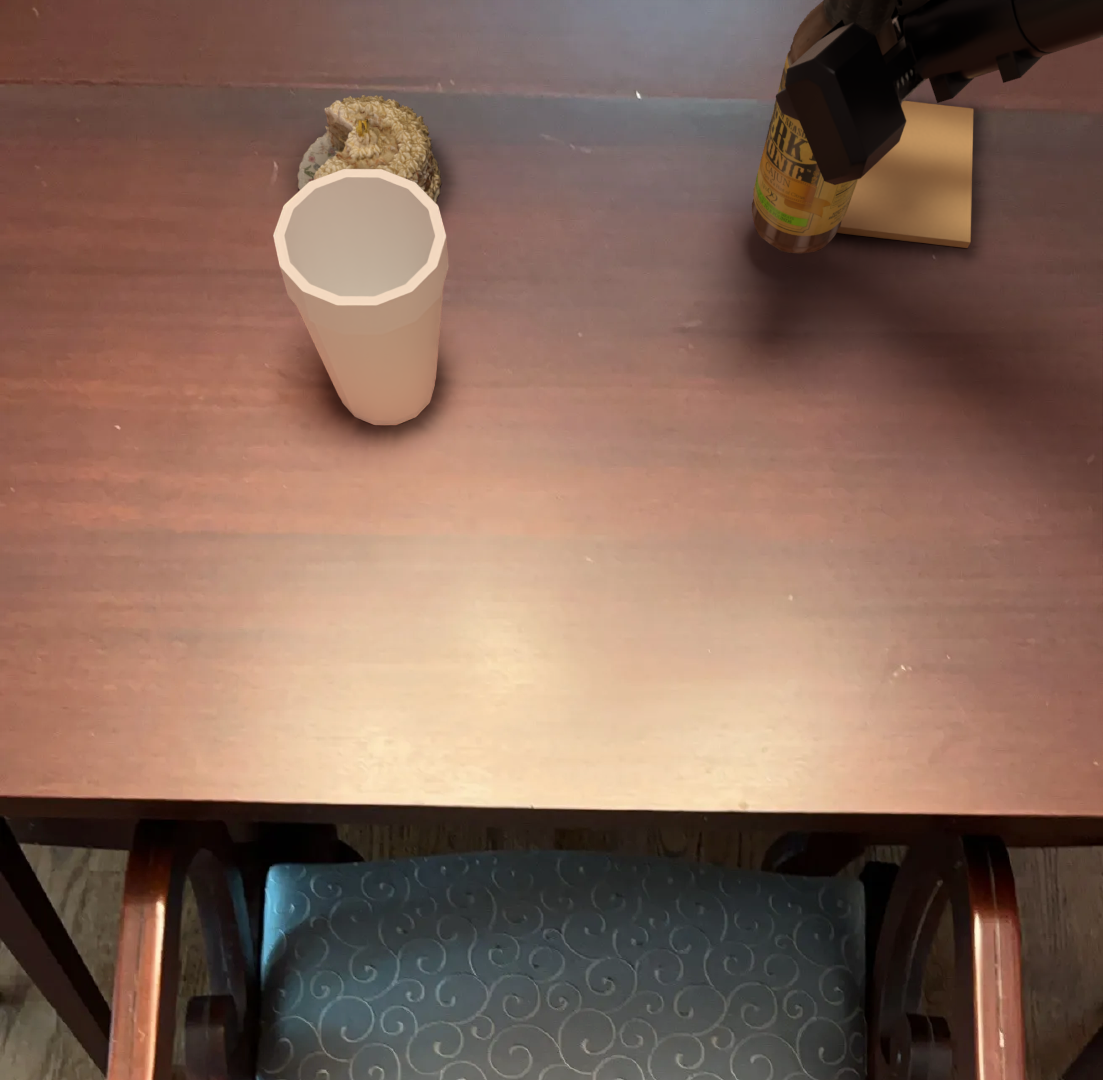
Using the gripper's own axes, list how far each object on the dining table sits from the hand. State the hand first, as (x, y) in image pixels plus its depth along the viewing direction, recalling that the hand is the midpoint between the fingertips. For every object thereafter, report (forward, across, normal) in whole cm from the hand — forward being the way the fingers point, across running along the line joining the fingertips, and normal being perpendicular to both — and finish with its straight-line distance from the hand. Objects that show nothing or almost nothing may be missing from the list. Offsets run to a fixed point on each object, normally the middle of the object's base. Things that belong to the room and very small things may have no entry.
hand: (815, 71), depth 68 cm
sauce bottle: (+7, 0, +9) cm, 11 cm away
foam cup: (+17, +26, +1) cm, 32 cm away
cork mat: (+8, -10, +11) cm, 17 cm away
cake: (+26, +15, -8) cm, 31 cm away
